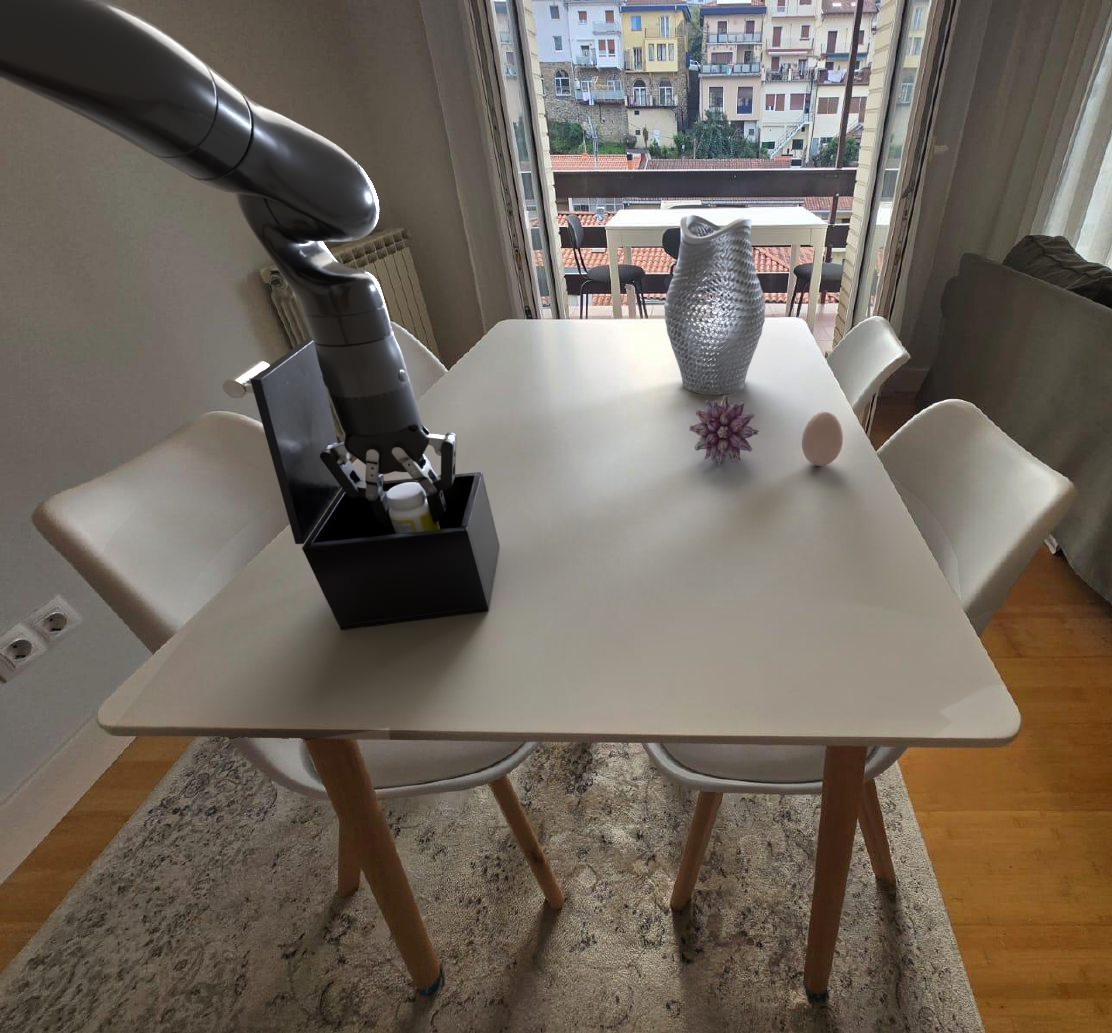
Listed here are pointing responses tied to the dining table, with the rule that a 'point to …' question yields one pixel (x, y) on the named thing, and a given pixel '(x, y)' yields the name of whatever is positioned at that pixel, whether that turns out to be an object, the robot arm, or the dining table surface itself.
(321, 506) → the box lid
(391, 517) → the supplement bottle
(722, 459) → the flower
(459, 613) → the black box
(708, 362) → the vase
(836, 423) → the egg
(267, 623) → the dining table surface
